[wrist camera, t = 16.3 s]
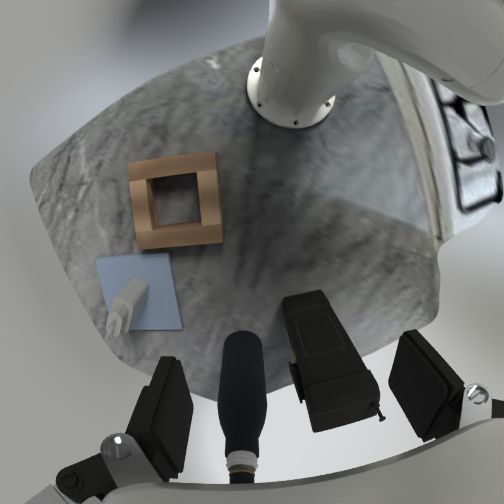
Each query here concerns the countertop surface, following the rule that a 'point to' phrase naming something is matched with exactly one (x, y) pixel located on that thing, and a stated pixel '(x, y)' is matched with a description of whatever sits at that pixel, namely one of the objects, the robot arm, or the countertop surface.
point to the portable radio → (327, 365)
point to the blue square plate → (159, 294)
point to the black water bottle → (242, 404)
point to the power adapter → (126, 307)
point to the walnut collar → (146, 205)
